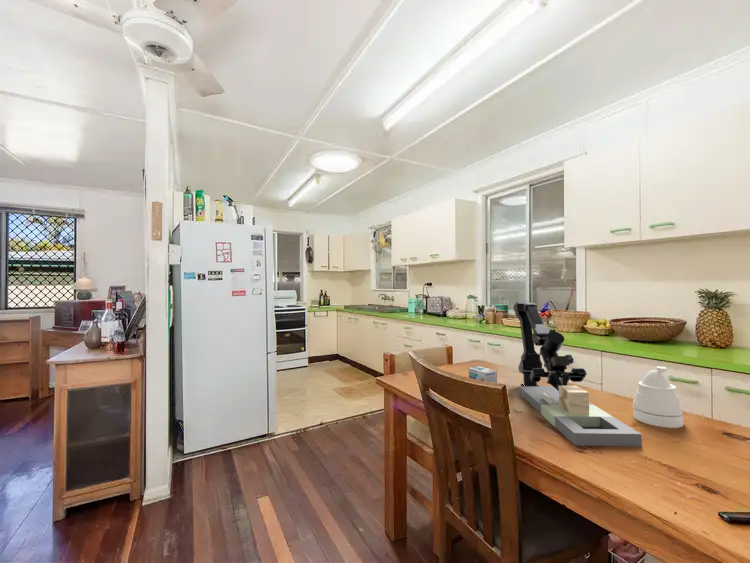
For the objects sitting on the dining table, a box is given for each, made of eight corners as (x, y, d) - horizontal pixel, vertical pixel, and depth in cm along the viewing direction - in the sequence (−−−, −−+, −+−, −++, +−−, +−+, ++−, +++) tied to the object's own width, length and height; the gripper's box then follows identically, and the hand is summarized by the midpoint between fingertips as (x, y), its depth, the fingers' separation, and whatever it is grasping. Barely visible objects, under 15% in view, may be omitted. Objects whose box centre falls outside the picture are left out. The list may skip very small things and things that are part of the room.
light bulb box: (468, 391, 149) (468, 367, 149) (480, 389, 151) (479, 365, 152) (486, 398, 139) (485, 372, 139) (498, 396, 142) (497, 370, 142)
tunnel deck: (519, 394, 143) (519, 381, 143) (563, 394, 141) (563, 381, 141) (575, 445, 96) (574, 426, 96) (642, 446, 94) (641, 426, 94)
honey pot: (692, 423, 109) (689, 368, 109) (668, 430, 104) (665, 372, 105) (648, 410, 121) (645, 360, 121) (624, 416, 116) (622, 364, 117)
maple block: (559, 405, 119) (558, 385, 119) (577, 405, 118) (576, 385, 118) (570, 413, 111) (569, 392, 111) (589, 413, 110) (588, 392, 110)
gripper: (531, 347, 127) (544, 384, 116) (583, 346, 125) (601, 384, 114) (524, 363, 135) (536, 399, 123) (573, 362, 133) (589, 400, 122)
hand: (565, 396), depth 120 cm, fingers closed
